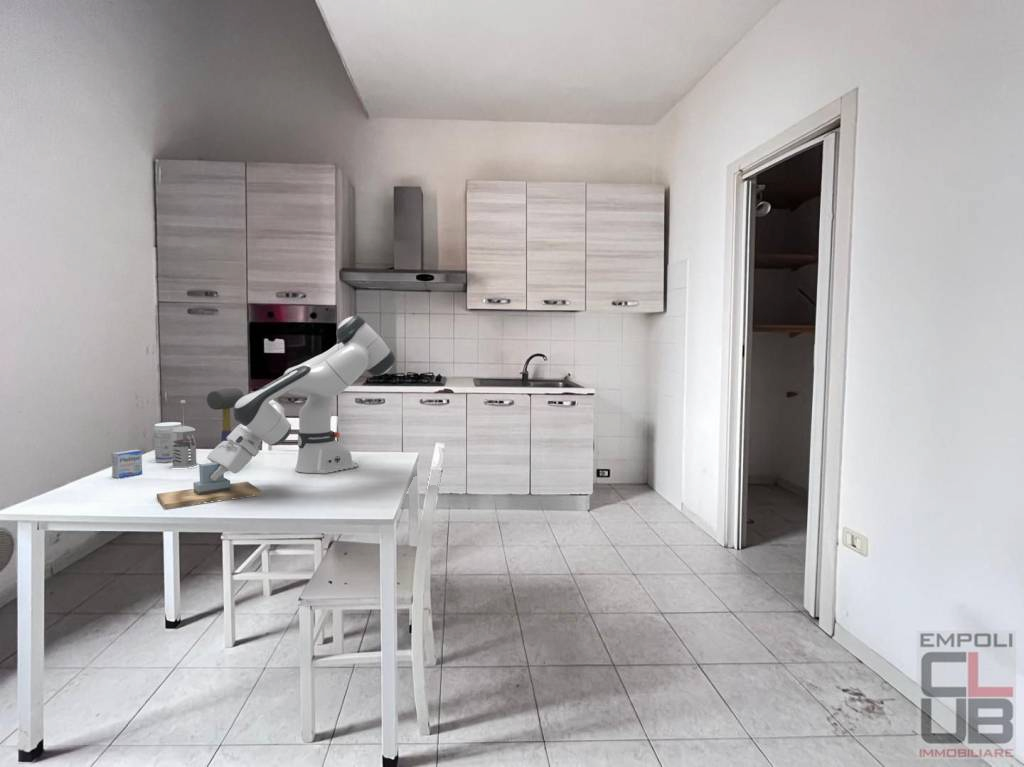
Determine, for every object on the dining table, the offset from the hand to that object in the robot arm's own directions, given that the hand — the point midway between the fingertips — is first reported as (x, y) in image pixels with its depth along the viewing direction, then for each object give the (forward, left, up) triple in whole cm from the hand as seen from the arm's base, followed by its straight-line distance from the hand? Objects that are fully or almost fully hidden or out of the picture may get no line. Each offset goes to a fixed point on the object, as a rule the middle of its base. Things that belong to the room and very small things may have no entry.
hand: (209, 477), depth 183 cm
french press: (-3, -50, -6) cm, 50 cm away
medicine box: (+16, -46, -6) cm, 49 cm away
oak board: (0, 0, -6) cm, 6 cm away
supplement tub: (0, -65, -6) cm, 65 cm away
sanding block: (-1, 0, -4) cm, 4 cm away
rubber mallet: (-14, -36, -6) cm, 39 cm away
